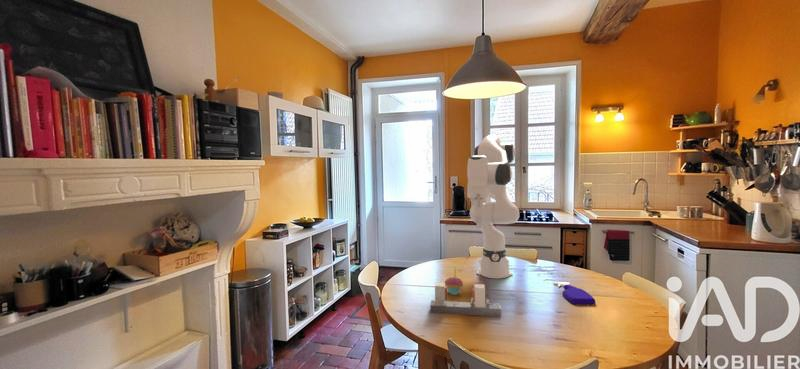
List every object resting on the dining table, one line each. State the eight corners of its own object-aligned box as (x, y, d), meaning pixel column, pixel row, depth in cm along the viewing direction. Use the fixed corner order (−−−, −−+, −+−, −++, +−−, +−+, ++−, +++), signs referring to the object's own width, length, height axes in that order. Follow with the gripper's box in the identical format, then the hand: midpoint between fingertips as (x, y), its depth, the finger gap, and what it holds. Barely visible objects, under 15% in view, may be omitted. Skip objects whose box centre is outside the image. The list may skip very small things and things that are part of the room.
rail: (431, 307, 144) (431, 282, 143) (499, 311, 139) (499, 284, 138) (430, 312, 139) (429, 286, 138) (501, 316, 134) (500, 289, 133)
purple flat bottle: (598, 299, 142) (573, 280, 166) (571, 298, 143) (550, 279, 167) (598, 306, 142) (573, 286, 167) (571, 305, 143) (550, 285, 168)
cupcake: (449, 288, 165) (448, 264, 164) (465, 291, 161) (465, 266, 160) (442, 294, 158) (441, 269, 157) (459, 297, 153) (458, 271, 153)
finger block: (472, 302, 140) (472, 284, 140) (484, 303, 139) (484, 284, 139) (472, 307, 136) (472, 287, 136) (485, 307, 135) (485, 288, 135)
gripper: (487, 195, 133) (487, 230, 134) (484, 191, 153) (484, 221, 154) (470, 195, 134) (471, 230, 135) (469, 191, 154) (470, 221, 155)
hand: (478, 225), depth 144 cm, fingers open, 8 cm apart
